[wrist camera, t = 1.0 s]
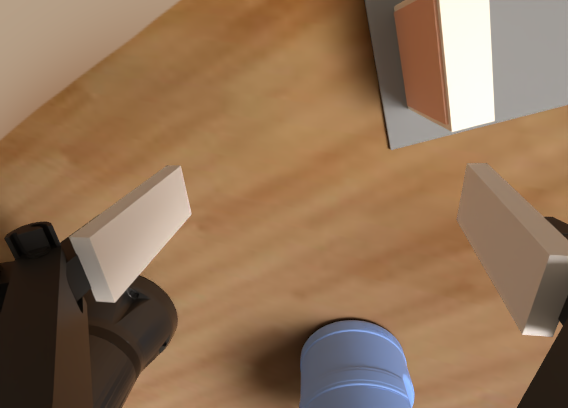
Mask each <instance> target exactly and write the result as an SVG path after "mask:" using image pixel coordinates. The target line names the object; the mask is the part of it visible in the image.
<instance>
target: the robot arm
mask: <svg viewBox="0 0 568 408" xmlns="http://www.w3.org/2000/svg"><path fill="white" fill-rule="evenodd" d="M190 216H191V209H190V205H189V200H188V196H187V191H186V187H185V182H184V178H183V173H182V169H181V166H166V167H164V168H163V169H162V170H160V171H159V172H157V173H156V174H155V175H153V176H152V177H151V178H149V179H148V180H146V181H145V182H144V183H142V184H141V185H140V186H138V187H137V188H135V189H134V190H133V191H131V192H130V193H129V194H127V195H126V196H125V197H123V198H122V199H120V200H119V201H118V202H116V203H115V204H114V205H112V206H111V207H109V208H108V209H107V210H105V211H104V212H103V213H101V214H100V215H98V216H96V217H95V218H94V219H92V220H91V221H89V223H87V224H85V225H84V226H83V227H82V228H80V229H78V230H77V231H76V232H74V233H73V234H72V235H70V236H69V237H67V238H66V239H65V240H63V241H62V242H61V243H60V242H59V240H58V237H57V235H56V233H55V231H54V228H53V226H52V224H51V223H49V222H36V223H31V224H28V225H25V226H22V227H19V228H17V229H15V230H13V231H12V232H10V233H9V234H7V235H6V237H5V238H4V239H5V241H6V243H7V244H8V246H9V248H10V250H11V252H12V254H13V256H14V258H15V261H12V262H6V263H0V408H122V406H123V404H124V403H125V401H126V399H127V397H128V395H129V393H130V391H131V389H132V387H133V385H134V383H135V381H136V380H137V378H138V376H139V374H140V373H141V372H142V371H143V370H144V369H145V368H146V367H147V366H148V365H149V364H150V363H151V362H152V361H153V360H154V359H155V358H156V357H157V356H158V355H159V354H160V353H161V352H162V351H163V350H164V349H165V348H166V347H167V346H168V344H169V343H170V341H171V339H172V337H173V335H174V333H175V331H176V328H177V322H178V318H177V312H176V309H175V307H174V304H173V303H172V301H171V299H170V298H169V297H168V295H167V294H166V293H165V292H164V291H163V290H162V289H161V288H159V287H158V286H157V285H155V284H154V283H152V282H151V281H149V280H147V279H145V278H143V277H140V276H139V274H140V273H141V272H142V271H143V270H144V269H145V268H146V266H147V265H148V264H149V263H150V262H151V261H152V259H153V258H154V257H155V256H156V255H157V254H158V253H159V251H160V250H161V249H162V248H163V247H164V246H165V244H166V243H167V242H168V241H169V240H170V239H171V238H172V236H173V235H174V234H175V233H176V232H177V231H178V229H179V228H180V227H181V226H182V225H183V224H184V223H185V221H186V220H187V219H188V218H189V217H190ZM457 221H458V223H459V225H460V227H461V228H462V230H463V232H464V234H465V235H466V237H467V239H468V241H469V242H470V244H471V246H472V248H473V249H474V251H475V253H476V255H477V256H478V258H479V260H480V262H481V263H482V265H483V267H484V269H485V270H486V272H487V274H488V276H489V277H490V279H491V281H492V282H493V284H494V286H495V288H496V289H497V291H498V293H499V295H500V296H501V298H502V300H503V302H504V303H505V305H506V307H507V309H508V310H509V312H510V314H511V316H512V317H513V319H514V321H515V323H516V324H517V326H518V328H519V330H520V331H521V333H522V334H523V335H536V336H548V337H553V335H554V332H555V330H556V327H557V325H558V322H559V321H560V322H561V323H562V325H563V327H562V329H561V331H560V333H559V334H558V336H557V338H556V340H555V341H554V343H553V345H552V347H551V348H550V350H549V352H548V354H547V355H546V357H545V359H544V361H543V362H542V364H541V366H540V368H539V369H538V371H537V373H536V375H535V377H534V378H533V380H532V382H531V384H530V385H529V387H528V389H527V391H526V392H525V394H524V396H523V398H522V399H521V401H520V403H519V405H518V406H517V408H568V224H566V223H564V222H562V221H560V220H558V219H556V218H554V217H543V216H542V215H541V214H540V213H539V212H538V211H537V210H536V209H535V208H534V207H533V206H531V205H530V204H529V203H528V202H527V201H526V200H525V199H524V198H523V197H522V196H521V195H520V194H519V193H518V192H517V191H516V190H515V189H514V188H512V187H511V186H510V185H509V184H508V183H507V182H506V181H505V180H504V179H503V178H502V177H501V176H500V175H499V174H498V173H497V172H496V171H495V170H493V169H492V168H491V167H490V166H489V165H488V164H487V163H467V166H466V172H465V177H464V183H463V188H462V194H461V199H460V204H459V210H458V215H457Z"/></svg>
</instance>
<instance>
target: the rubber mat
mask: <svg viewBox="0 0 568 408" xmlns="http://www.w3.org/2000/svg"><path fill="white" fill-rule="evenodd" d="M402 1H404V0H365V6H366V12H367V18H368V24H369V29H370V35H371V41H372V47H373V53H374V58H375V64H376V70H377V76H378V82H379V88H380V93H381V99H382V105H383V111H384V117H385V122H386V128H387V134H388V140H389V146H390V149H391V150H393V149H397V148H401V147H405V146H409V145H413V144H416V143H420V142H424V141H428V140H432V139H436V138H440V137H444V136H448V135H452V134H456V133H459V132H463V131H467V130H471V129H475V128H479V127H483V126H487V125H491V124H495V123H499V122H502V121H506V120H510V119H514V118H518V117H522V116H526V115H530V114H534V113H538V112H542V111H546V110H549V109H553V108H557V107H561V106H565V105H568V0H489V8H490V29H491V50H492V72H493V93H494V115H495V121H493V122H489V123H485V124H481V125H477V126H474V127H470V128H466V129H462V130H458V131H454V132H451V131H449V130H447V129H445V128H444V127H442V126H440V125H438V124H436V123H434V122H432V121H430V120H428V119H426V118H425V117H423V116H421V115H419V114H417V113H415V112H413V111H411V110H409V109H408V106H407V101H406V94H405V87H404V80H403V73H402V66H401V59H400V52H399V45H398V38H397V31H396V24H395V18H394V12H395V11H394V6H396V5H397V4H399V3H401V2H402Z"/></svg>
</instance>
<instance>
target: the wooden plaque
mask: <svg viewBox="0 0 568 408" xmlns="http://www.w3.org/2000/svg"><path fill="white" fill-rule="evenodd" d="M394 11H395V12H394V18H395V24H396V31H397V38H398V45H399V52H400V59H401V66H402V73H403V80H404V87H405V94H406V101H407V106H408V109H409V110H411V111H413V112H415V113H417V114H419V115H421V116H423V117H425V118H426V119H428V120H430V121H432V122H434V123H436V124H438V125H440V126H442V127H444V128H445V129H447V130H449V131H451V132H454V131H458V130H462V129H466V128H470V127H474V126H477V125H481V124H485V123H489V122H493V121H495V115H494V93H493V72H492V50H491V29H490V8H489V0H404V1H402V2H401V3H399V4H397V5H396V6H394Z"/></svg>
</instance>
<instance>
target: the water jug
mask: <svg viewBox="0 0 568 408" xmlns="http://www.w3.org/2000/svg"><path fill="white" fill-rule="evenodd" d="M300 370H301V397H300V404H299V408H412V406H413V403H414V388H413V384H412V381H411V378H410V375H409V372H408V368H407V363H406V359H405V355H404V352H403V349H402V347H401V345H400V343H399V342H398V340H397V339H396V338H395V337H394V336H393V335H392V334H391V333H390V332H388V331H387V330H386V329H384V328H382V327H380V326H378V325H376V324H373V323H370V322H366V321H359V320H345V321H338V322H334V323H331V324H328V325H326V326H324V327H322V328H320V329H318V330H317V331H316V332H314V333H313V334H312V335H311V336H310V337H309V338H308V340H307V341H306V343H305V344H304V346H303V349H302V352H301V359H300Z"/></svg>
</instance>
